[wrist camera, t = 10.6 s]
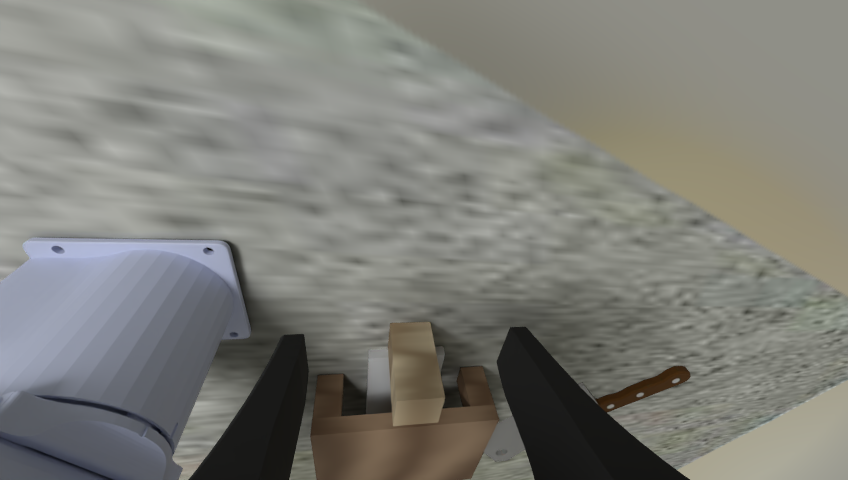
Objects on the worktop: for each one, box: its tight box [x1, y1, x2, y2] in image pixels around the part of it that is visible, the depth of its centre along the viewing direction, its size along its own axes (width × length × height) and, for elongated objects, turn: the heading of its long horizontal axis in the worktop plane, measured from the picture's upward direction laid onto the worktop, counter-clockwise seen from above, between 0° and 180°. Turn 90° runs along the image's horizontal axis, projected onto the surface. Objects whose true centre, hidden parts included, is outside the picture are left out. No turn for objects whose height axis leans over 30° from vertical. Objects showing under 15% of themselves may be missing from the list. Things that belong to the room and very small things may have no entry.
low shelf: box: [310, 366, 499, 480], centre depth 30 cm, size 14×11×5 cm
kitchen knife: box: [484, 366, 690, 462], centre depth 37 cm, size 24×1×10 cm
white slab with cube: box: [366, 322, 445, 426], centre depth 28 cm, size 6×16×6 cm, turn 173°
